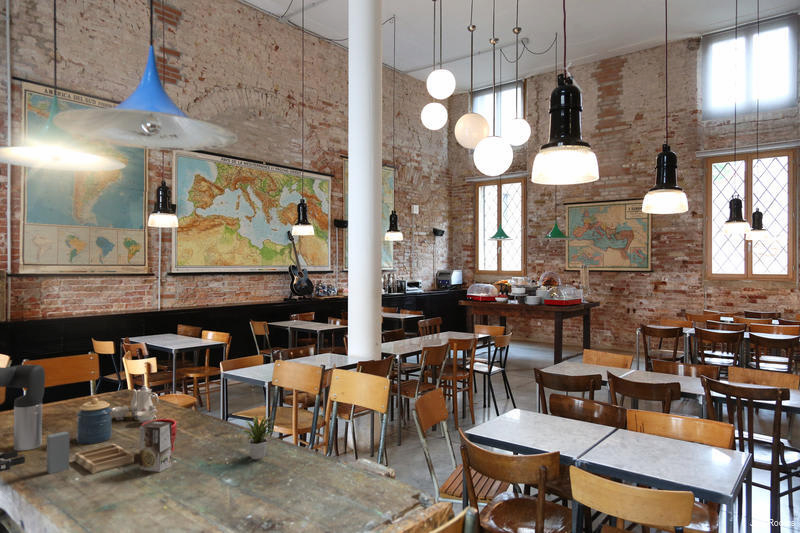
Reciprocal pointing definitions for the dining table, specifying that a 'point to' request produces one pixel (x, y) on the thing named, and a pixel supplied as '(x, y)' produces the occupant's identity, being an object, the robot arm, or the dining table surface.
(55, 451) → the gray rectangular block
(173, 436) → the plant pot
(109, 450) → the tray
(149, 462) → the coffee box
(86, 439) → the canister
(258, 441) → the house plant
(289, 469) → the dining table surface
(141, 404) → the chinaware
